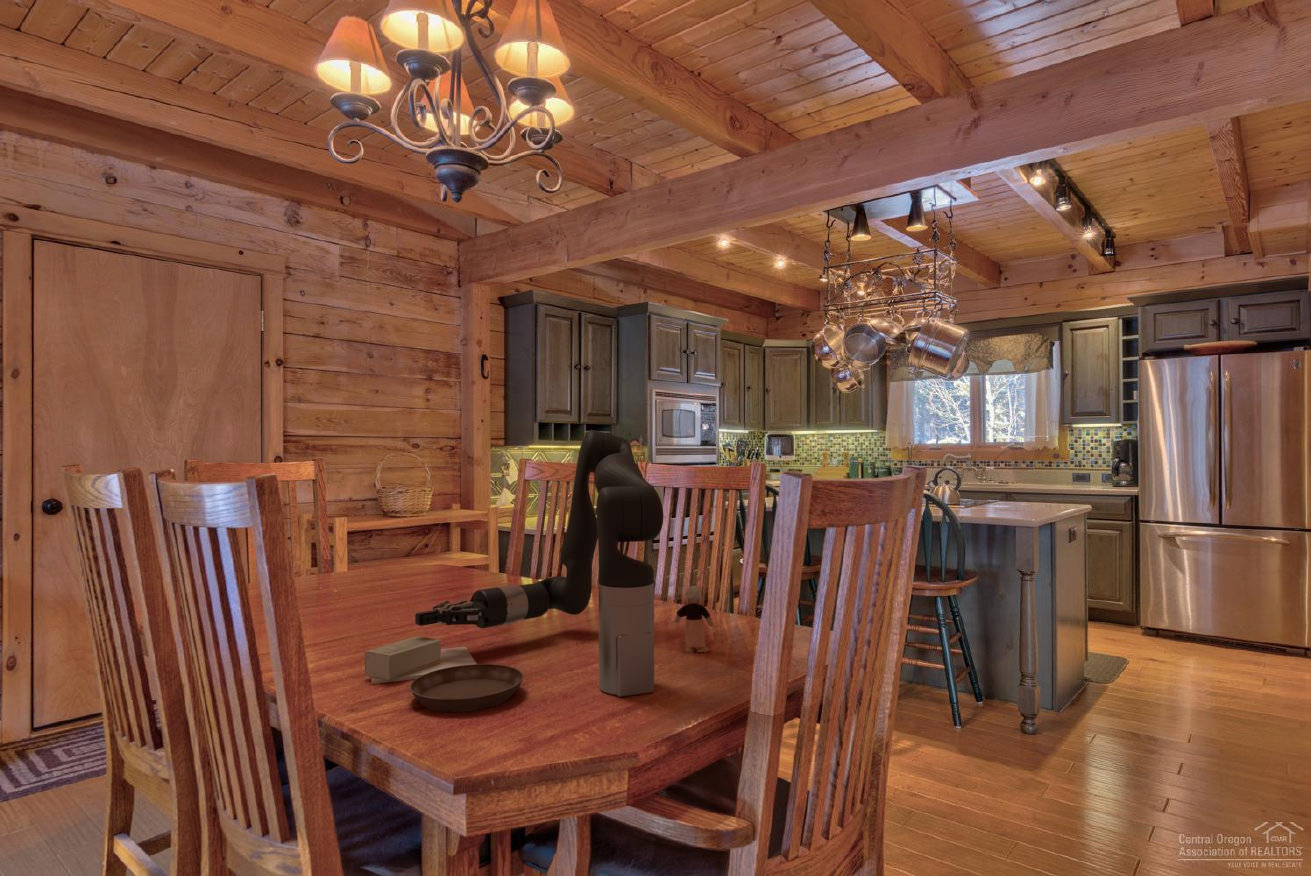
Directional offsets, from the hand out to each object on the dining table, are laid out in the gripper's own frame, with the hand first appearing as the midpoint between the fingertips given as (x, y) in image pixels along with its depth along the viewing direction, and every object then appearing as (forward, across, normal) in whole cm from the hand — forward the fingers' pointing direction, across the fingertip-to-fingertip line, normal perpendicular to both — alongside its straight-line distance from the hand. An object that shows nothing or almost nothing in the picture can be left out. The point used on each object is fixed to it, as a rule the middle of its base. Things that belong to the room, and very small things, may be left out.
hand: (417, 619), depth 138 cm
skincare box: (-2, +1, +6) cm, 6 cm away
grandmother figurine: (-44, +28, +8) cm, 53 cm away
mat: (-1, +1, +8) cm, 8 cm away
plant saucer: (+2, +22, +9) cm, 24 cm away
